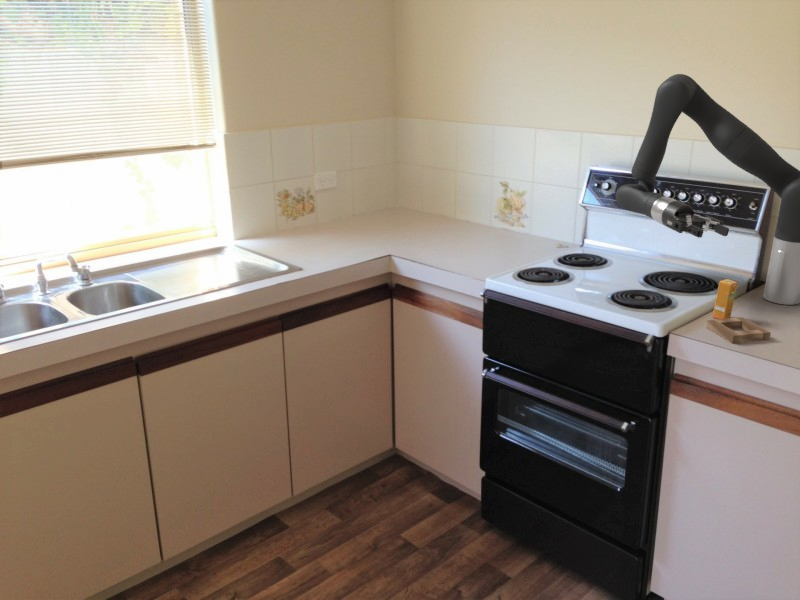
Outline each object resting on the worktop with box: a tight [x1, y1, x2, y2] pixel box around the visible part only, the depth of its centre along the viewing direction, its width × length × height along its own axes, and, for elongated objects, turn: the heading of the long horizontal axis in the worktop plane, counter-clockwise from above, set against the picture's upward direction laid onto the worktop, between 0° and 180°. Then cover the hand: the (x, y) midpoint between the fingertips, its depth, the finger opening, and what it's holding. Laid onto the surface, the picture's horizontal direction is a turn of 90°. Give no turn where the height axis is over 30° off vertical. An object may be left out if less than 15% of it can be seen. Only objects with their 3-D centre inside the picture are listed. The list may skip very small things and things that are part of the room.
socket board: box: [705, 316, 772, 345], centre depth 176 cm, size 10×10×2 cm
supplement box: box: [712, 278, 739, 320], centre depth 184 cm, size 3×3×10 cm
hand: (714, 233), depth 187 cm, fingers open, 8 cm apart
